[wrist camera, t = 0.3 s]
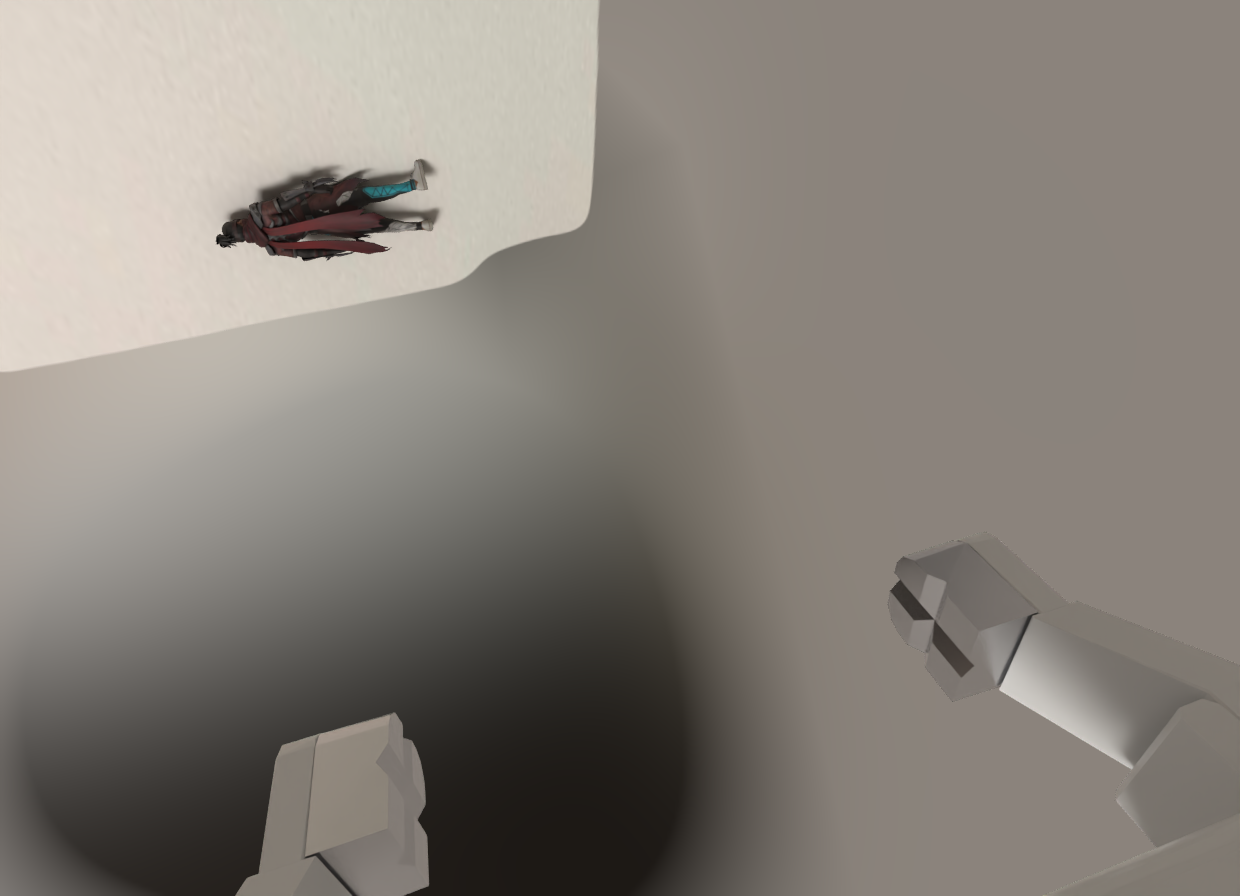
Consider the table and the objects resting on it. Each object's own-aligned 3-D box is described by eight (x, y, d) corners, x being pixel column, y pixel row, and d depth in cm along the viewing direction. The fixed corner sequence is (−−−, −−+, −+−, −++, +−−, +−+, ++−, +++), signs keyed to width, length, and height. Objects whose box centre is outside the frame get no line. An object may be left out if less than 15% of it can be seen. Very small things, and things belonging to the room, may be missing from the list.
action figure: (417, 150, 58) (192, 178, 52) (434, 187, 55) (198, 221, 49) (429, 228, 65) (229, 260, 59) (445, 265, 62) (236, 303, 56)
